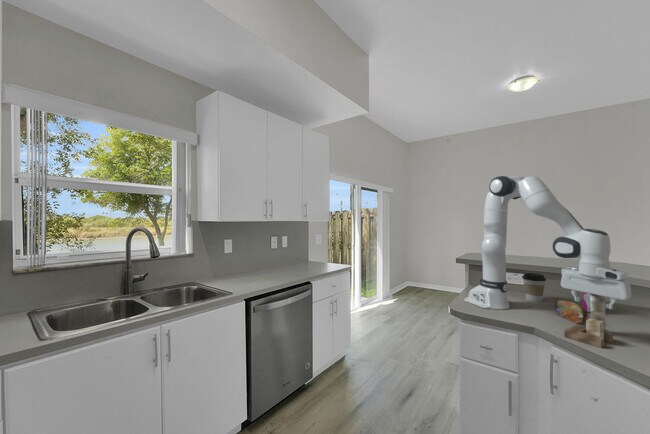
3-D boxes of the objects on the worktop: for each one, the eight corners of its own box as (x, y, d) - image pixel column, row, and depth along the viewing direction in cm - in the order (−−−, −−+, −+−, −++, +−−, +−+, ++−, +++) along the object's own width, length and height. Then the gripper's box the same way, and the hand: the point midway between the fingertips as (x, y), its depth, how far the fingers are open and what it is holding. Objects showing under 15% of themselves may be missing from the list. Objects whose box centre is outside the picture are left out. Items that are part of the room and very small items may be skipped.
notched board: (564, 336, 113) (564, 329, 113) (577, 330, 119) (577, 323, 119) (600, 348, 104) (600, 340, 104) (613, 340, 109) (613, 333, 109)
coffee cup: (523, 296, 169) (523, 271, 169) (547, 299, 162) (547, 274, 161) (520, 300, 161) (520, 274, 161) (545, 304, 153) (544, 277, 153)
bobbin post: (583, 331, 118) (583, 289, 118) (590, 327, 122) (590, 287, 122) (605, 337, 112) (605, 293, 112) (612, 333, 116) (612, 290, 115)
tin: (554, 314, 139) (554, 297, 139) (560, 314, 139) (560, 297, 139) (582, 326, 124) (582, 307, 124) (589, 326, 124) (589, 307, 124)
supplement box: (598, 311, 142) (597, 289, 142) (598, 314, 138) (598, 291, 138) (582, 308, 146) (582, 287, 146) (582, 311, 142) (582, 289, 141)
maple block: (586, 340, 110) (586, 320, 110) (590, 337, 112) (590, 318, 112) (599, 344, 107) (599, 323, 107) (603, 341, 109) (603, 321, 109)
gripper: (558, 266, 117) (557, 298, 117) (627, 276, 99) (626, 314, 99) (565, 265, 120) (564, 296, 120) (633, 274, 102) (632, 311, 102)
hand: (592, 304), depth 110 cm, fingers open, 8 cm apart
